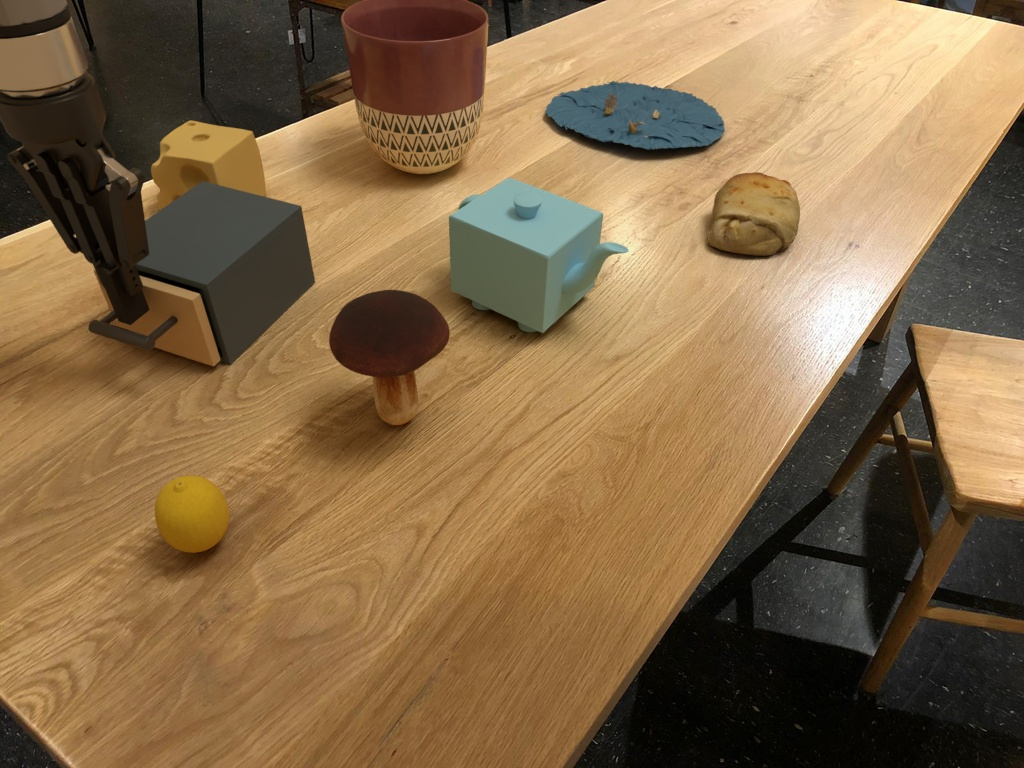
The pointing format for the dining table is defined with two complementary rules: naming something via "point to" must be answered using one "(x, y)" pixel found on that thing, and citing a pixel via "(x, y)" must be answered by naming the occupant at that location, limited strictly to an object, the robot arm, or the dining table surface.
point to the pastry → (754, 215)
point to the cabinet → (232, 258)
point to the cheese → (207, 161)
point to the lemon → (191, 513)
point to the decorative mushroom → (389, 346)
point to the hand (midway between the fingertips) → (134, 315)
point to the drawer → (166, 321)
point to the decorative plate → (638, 116)
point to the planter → (418, 78)
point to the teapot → (526, 252)
